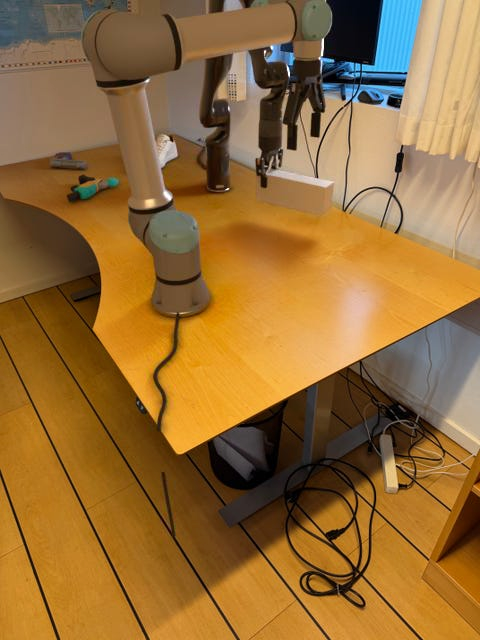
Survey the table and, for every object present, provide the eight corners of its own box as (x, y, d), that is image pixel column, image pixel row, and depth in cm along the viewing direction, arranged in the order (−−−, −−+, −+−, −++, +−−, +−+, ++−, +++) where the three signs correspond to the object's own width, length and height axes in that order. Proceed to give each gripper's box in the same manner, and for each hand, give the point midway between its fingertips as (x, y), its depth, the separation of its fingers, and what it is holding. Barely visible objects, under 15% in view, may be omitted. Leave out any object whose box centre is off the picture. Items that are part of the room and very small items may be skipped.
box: (330, 211, 155) (334, 181, 149) (322, 217, 151) (325, 187, 146) (264, 194, 167) (265, 167, 161) (255, 200, 163) (256, 172, 157)
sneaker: (133, 173, 208) (129, 144, 201) (161, 153, 230) (158, 127, 223) (155, 175, 205) (151, 146, 198) (180, 155, 227) (178, 129, 220)
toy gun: (98, 160, 223) (83, 171, 211) (61, 158, 226) (45, 169, 214) (96, 152, 220) (81, 162, 208) (59, 150, 223) (43, 160, 212)
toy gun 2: (44, 189, 181) (74, 196, 175) (91, 169, 199) (119, 175, 193) (47, 200, 183) (76, 207, 178) (93, 180, 202) (121, 186, 196)
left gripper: (316, 50, 131) (312, 130, 144) (269, 65, 115) (269, 153, 128) (341, 52, 128) (335, 133, 141) (296, 67, 112) (293, 157, 124)
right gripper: (271, 126, 157) (270, 176, 167) (247, 136, 147) (247, 188, 157) (291, 129, 153) (289, 180, 163) (268, 140, 144) (267, 193, 154)
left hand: (303, 143), depth 134 cm, fingers open, 13 cm apart
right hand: (268, 184), depth 160 cm, fingers closed on box, 6 cm apart
